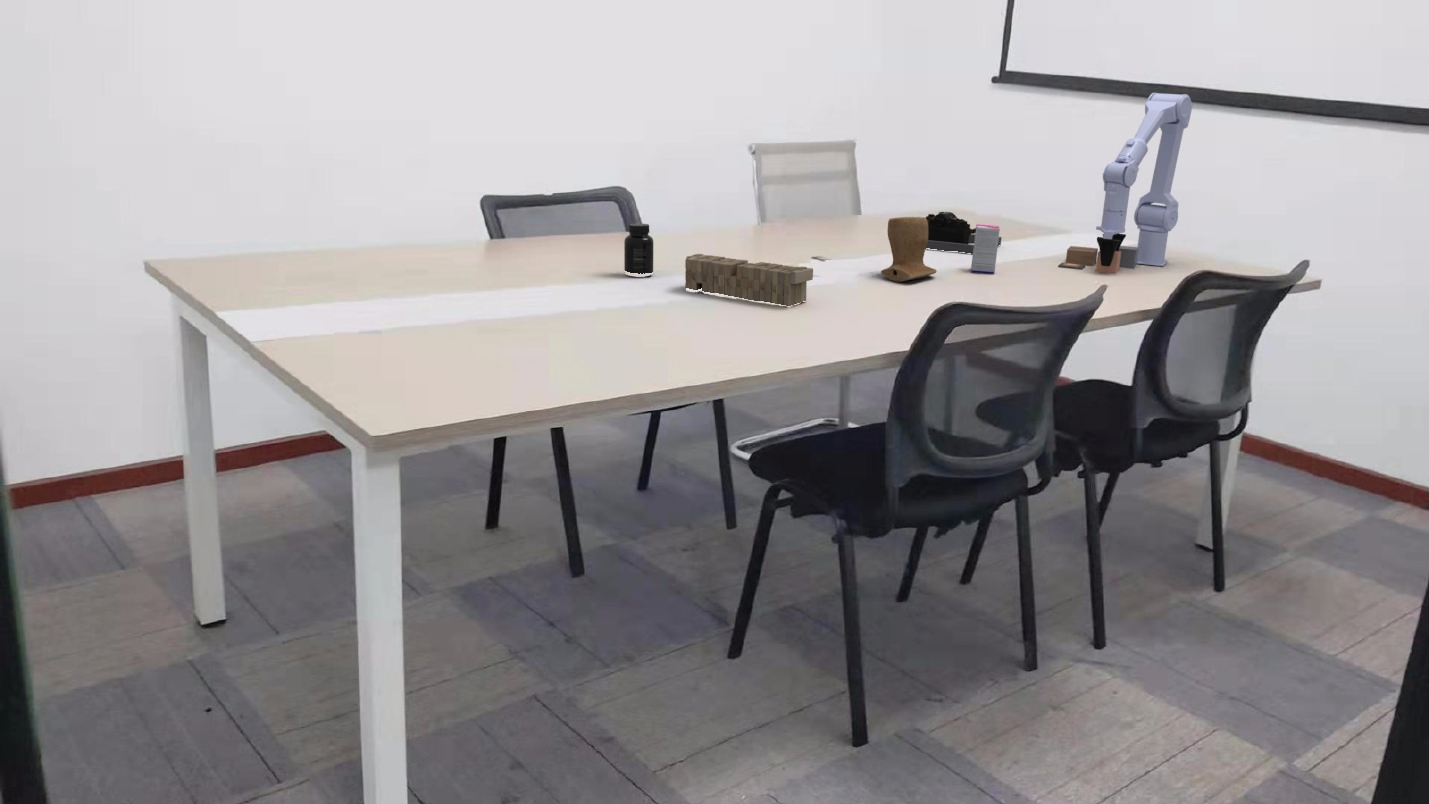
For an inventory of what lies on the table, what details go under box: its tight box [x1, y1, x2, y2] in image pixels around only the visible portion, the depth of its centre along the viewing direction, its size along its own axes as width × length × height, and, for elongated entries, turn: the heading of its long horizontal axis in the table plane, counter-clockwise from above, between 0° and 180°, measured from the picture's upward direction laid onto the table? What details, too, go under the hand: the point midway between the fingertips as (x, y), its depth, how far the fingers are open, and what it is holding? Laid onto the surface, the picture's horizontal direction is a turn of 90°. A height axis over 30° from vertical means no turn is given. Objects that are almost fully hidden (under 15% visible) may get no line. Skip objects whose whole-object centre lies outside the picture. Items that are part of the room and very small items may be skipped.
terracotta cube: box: [1095, 250, 1121, 274], centre depth 300 cm, size 5×5×5 cm
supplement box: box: [970, 223, 1000, 275], centre depth 292 cm, size 6×6×12 cm
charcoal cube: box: [1119, 245, 1139, 270], centre depth 307 cm, size 5×5×5 cm
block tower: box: [684, 253, 814, 306], centre depth 255 cm, size 8×8×29 cm
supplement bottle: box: [623, 222, 654, 274], centre depth 274 cm, size 7×7×12 cm
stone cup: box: [880, 216, 937, 282], centre depth 281 cm, size 15×12×15 cm
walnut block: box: [1065, 245, 1099, 267], centre depth 310 cm, size 7×7×4 cm
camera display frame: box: [926, 234, 1002, 255], centre depth 330 cm, size 20×24×2 cm
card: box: [1057, 262, 1086, 270], centre depth 304 cm, size 5×6×1 cm
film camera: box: [925, 211, 976, 244], centre depth 329 cm, size 18×12×10 cm
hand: (1108, 263), depth 300 cm, fingers open, 7 cm apart
